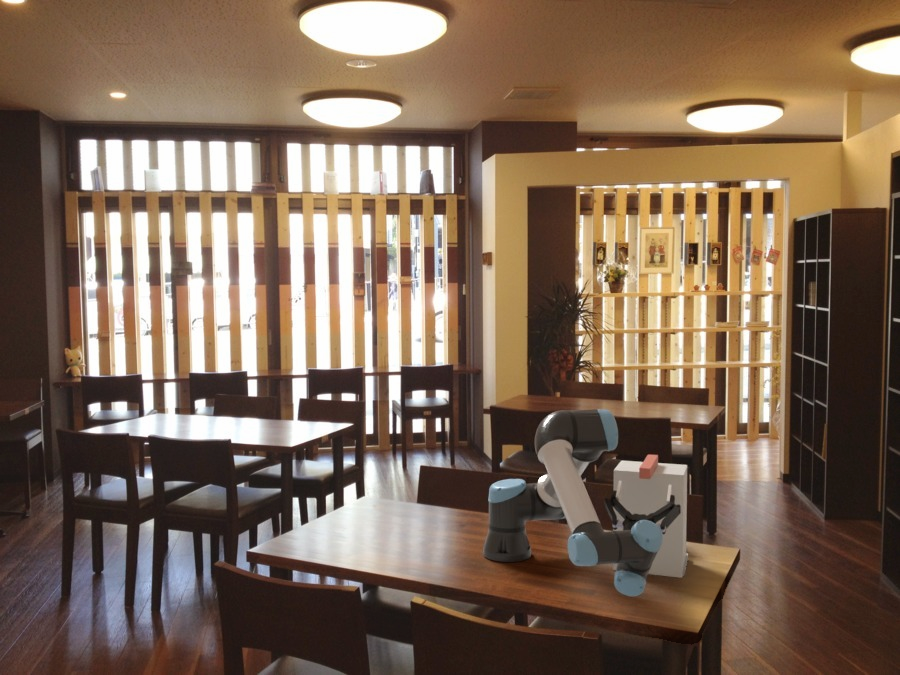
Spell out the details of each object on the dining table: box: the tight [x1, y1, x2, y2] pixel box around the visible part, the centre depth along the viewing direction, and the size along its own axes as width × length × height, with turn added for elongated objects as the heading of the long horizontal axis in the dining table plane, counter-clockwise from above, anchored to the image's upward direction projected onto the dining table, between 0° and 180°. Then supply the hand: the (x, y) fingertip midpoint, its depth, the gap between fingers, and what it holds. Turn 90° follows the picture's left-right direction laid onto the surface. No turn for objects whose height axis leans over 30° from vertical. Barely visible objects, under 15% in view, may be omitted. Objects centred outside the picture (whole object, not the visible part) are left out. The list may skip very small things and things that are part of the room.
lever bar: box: [639, 454, 659, 479], centre depth 236 cm, size 22×3×3 cm, turn 160°
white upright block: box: [611, 460, 689, 579], centre depth 243 cm, size 18×21×30 cm
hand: (645, 486), depth 224 cm, fingers open, 13 cm apart
